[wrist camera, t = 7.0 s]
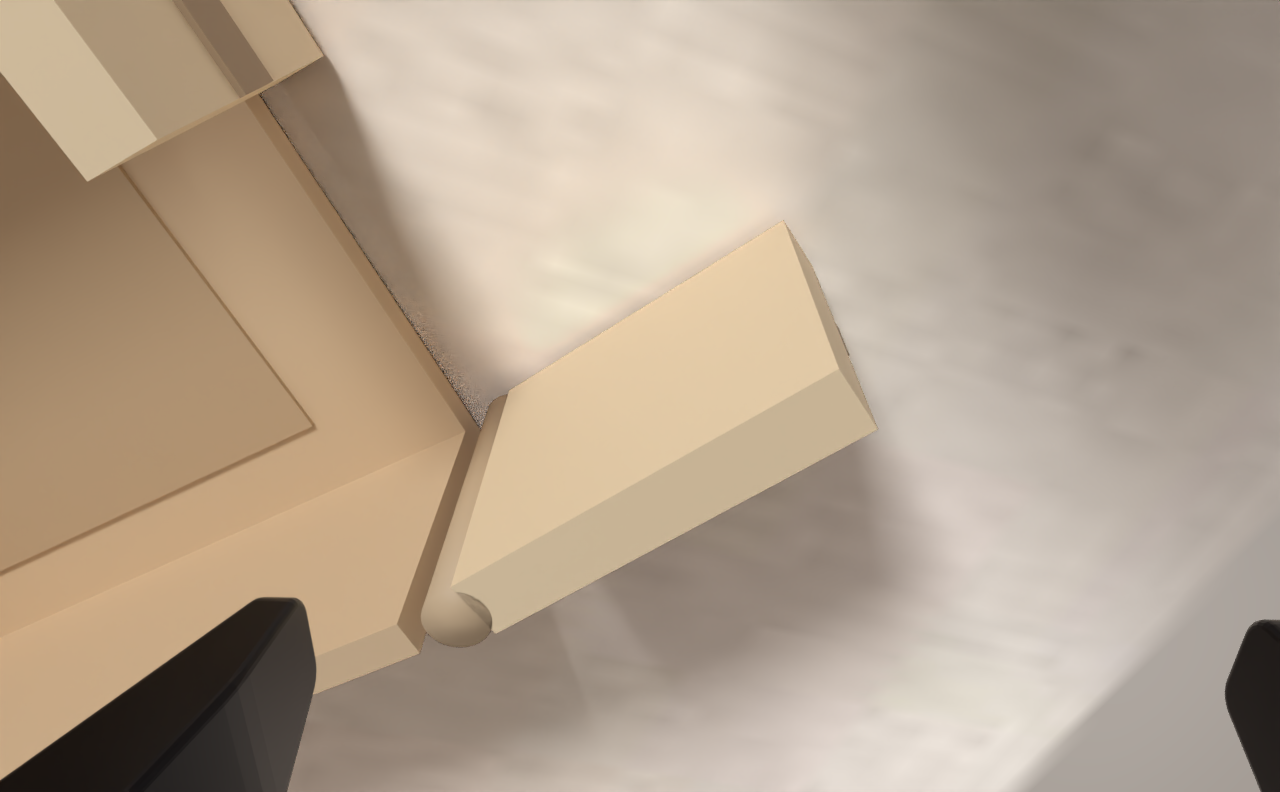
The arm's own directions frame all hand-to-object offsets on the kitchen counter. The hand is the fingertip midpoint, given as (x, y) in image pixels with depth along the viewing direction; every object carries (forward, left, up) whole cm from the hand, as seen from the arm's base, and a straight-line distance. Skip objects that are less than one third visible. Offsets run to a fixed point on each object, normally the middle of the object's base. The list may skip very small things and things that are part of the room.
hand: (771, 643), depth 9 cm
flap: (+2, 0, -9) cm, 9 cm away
